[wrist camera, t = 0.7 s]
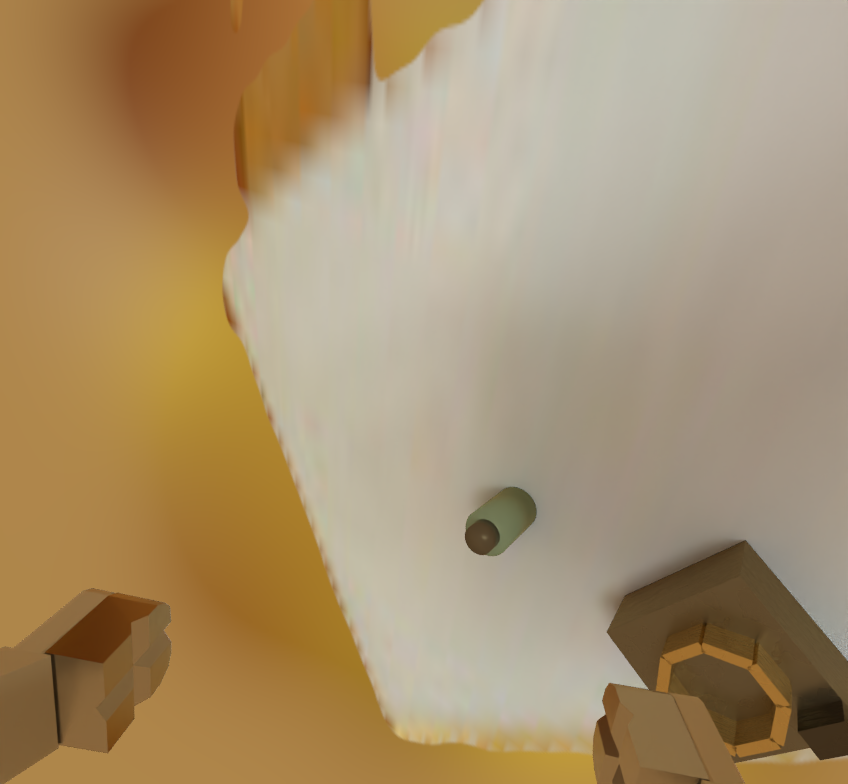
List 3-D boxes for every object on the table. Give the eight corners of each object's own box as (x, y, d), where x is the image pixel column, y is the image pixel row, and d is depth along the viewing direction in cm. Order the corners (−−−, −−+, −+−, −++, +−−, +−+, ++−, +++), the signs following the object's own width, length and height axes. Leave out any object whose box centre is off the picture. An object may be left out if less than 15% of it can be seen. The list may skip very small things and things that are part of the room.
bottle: (517, 479, 52) (479, 508, 46) (545, 515, 51) (509, 551, 45) (489, 499, 54) (449, 530, 48) (514, 534, 53) (477, 571, 47)
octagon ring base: (745, 540, 41) (736, 594, 34) (861, 677, 38) (876, 765, 31) (625, 595, 48) (597, 649, 41) (716, 715, 45) (702, 794, 38)
